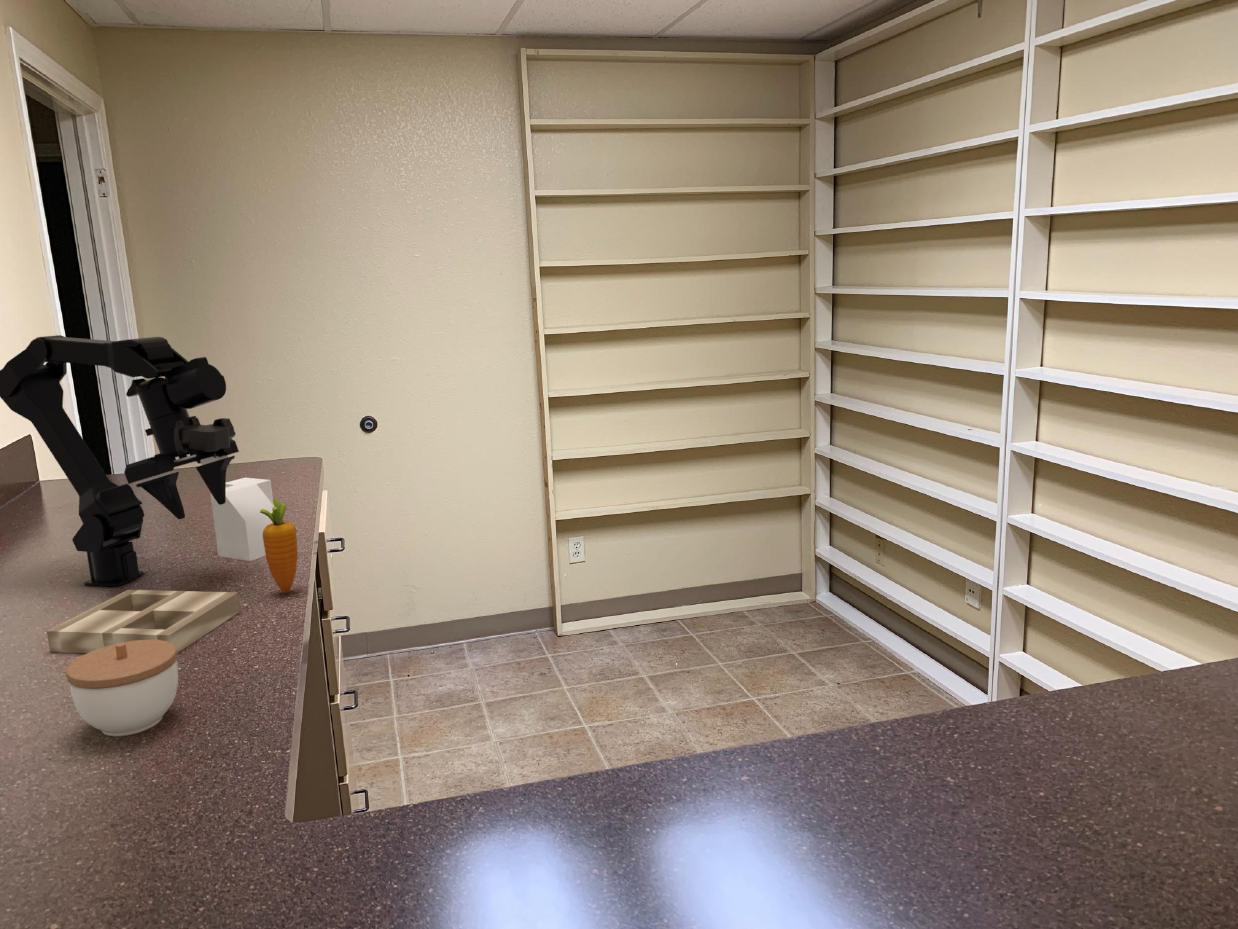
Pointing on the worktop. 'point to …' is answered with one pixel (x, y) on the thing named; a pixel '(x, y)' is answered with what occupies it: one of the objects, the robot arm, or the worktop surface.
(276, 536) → the carrot
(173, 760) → the worktop surface
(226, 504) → the white angular block
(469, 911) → the worktop surface
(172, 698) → the lidded jar
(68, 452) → the robot arm
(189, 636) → the socket board
